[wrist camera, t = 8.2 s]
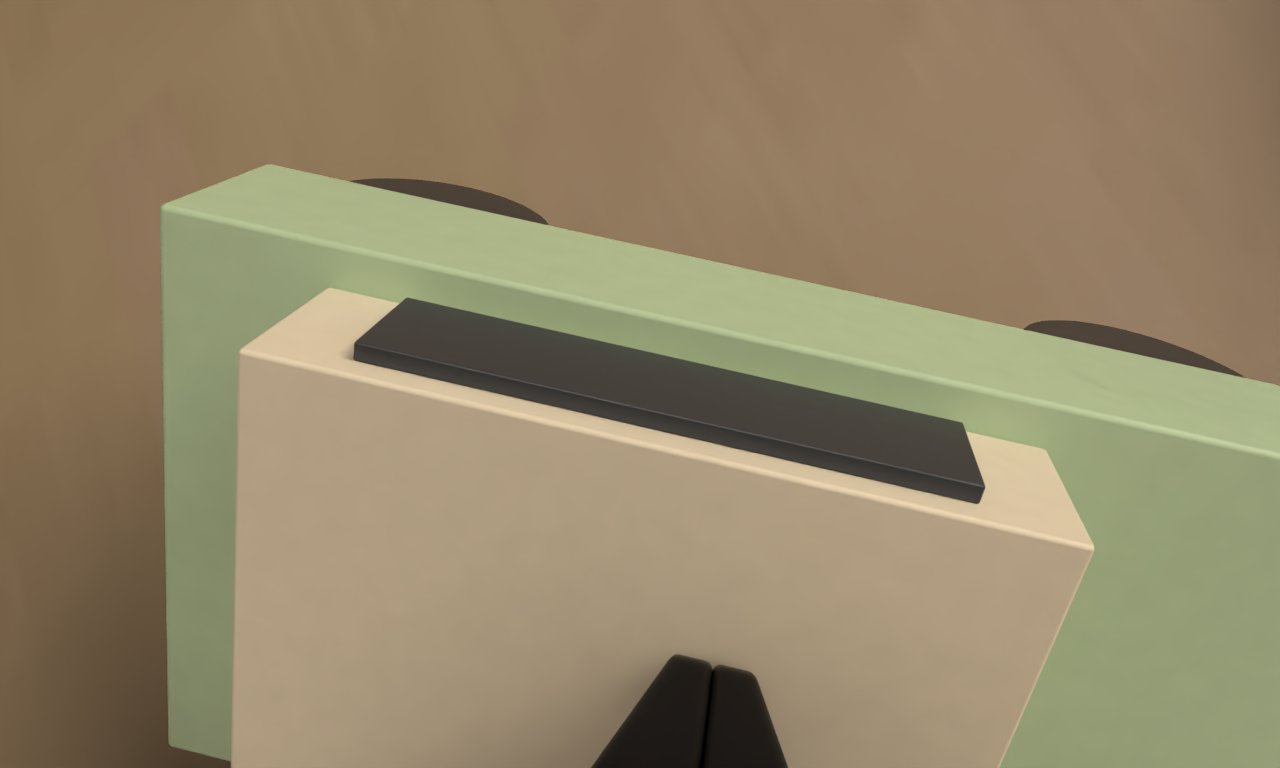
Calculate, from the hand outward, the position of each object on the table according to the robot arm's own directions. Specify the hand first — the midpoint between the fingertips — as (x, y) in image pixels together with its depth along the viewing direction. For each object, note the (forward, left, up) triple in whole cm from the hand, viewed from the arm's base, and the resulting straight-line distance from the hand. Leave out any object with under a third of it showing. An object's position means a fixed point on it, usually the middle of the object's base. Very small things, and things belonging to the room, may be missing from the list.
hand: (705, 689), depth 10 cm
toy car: (-2, +2, -5) cm, 6 cm away
